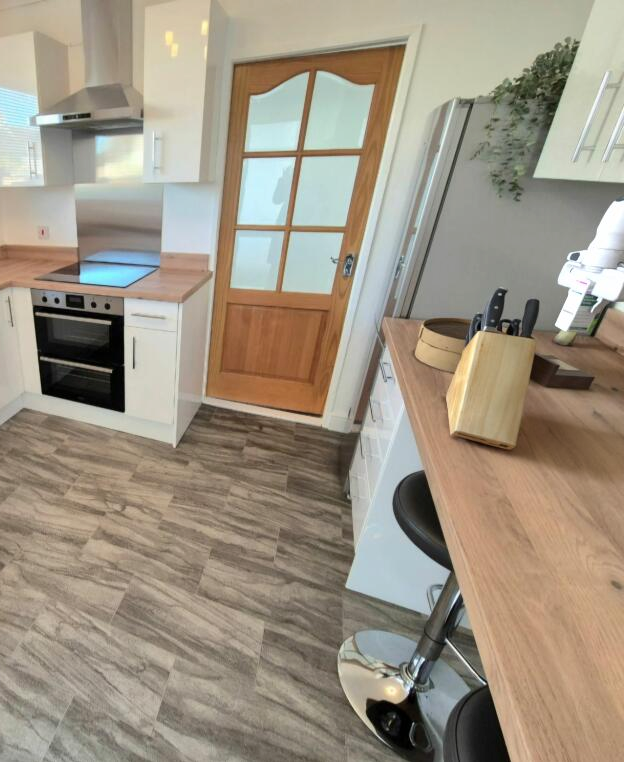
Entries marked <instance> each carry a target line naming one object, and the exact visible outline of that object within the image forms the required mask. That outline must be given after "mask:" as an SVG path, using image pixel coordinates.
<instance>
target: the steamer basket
mask: <svg viewBox="0 0 624 762" xmlns="http://www.w3.org/2000/svg"><path fill="white" fill-rule="evenodd" d="M472 320H473V319H470V318H461V317H433V318H429V319H426V320H423V321H422V322H421V325H420V328H419V332H418V335H417V337H418V342H417V344H416V348H415V350H414V356H415V357H416V359H417V360H418V361H420V362H422V363H423V364H425V365H427V366H430V367H432V368H435V369H438V370H441V371H445V372H448V373H452V374H455V371H456V369H457V366H458V364H459V362H460V360H461V357H462V353H463V350H464V346H465V342H466V337H467V334H468V333H470V326H471V322H472ZM507 328H508V327H504V326H502V333H505V334H506V331H507ZM496 330H497V327H496ZM519 336H520V335H519ZM519 336H518V337H519Z"/></svg>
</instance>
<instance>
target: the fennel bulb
mask: <svg viewBox="0 0 624 762" xmlns="http://www.w3.org/2000/svg"><path fill="white" fill-rule="evenodd" d="M578 333H579V332H566V331H564V330H562V329H560V330H559V332H558V334H557V335H556V336H555V337H554V342H555V343H557V344H558V345H562V346H571V345H572V344H573V343H574V341H575V340H576V339H577V336H578Z"/></svg>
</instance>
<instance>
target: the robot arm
mask: <svg viewBox="0 0 624 762" xmlns="http://www.w3.org/2000/svg"><path fill="white" fill-rule="evenodd" d="M566 259H567V261H566V262H565V263H564V265H563V266H562V269H561V270H560V272H559V275H558V278H557V284H558V286H562V287H565V288H568V289H569V290H568V292H567V293H568V295H569V293H570V291H571V289H572V287H573V284H574V282H575V280H576V278H586V279H590V280H593V281H595V282H596V284H595V286H594V288H593V290H592V292H591V295H594V296H597V297H598V299H597V301H598V302H597V303H596V304H595V305H594V306H590V308H589V310H588V312H590V313H593V314H598V313H600V311H601V309H602V308H603V309H604V308H605V306H607V305H608V304H610V303H611V302H614V303H615V302H616V303H624V195H623V196H620V197H619V198H616V199H615V200H613V202H612V203H611V204H610V205H609V207H608V208H607V210H606V211H605V213H604V215H603V216H602V218H601V220H600V222H599V224H598V226H597V228H596V235H595V237H594V239H593V240H592V241H591V243H590V244H589V245H588V247H587V249H583V250H577V251H572V252H569V253H568V255H567V258H566ZM603 309H602V310H603ZM601 312H602V311H601ZM600 314H601V313H600Z"/></svg>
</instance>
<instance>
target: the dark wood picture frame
mask: <svg viewBox="0 0 624 762" xmlns="http://www.w3.org/2000/svg"><path fill="white" fill-rule="evenodd" d="M529 379H532V380H533V381H535V382H537V383H538V384H540V385H541V386H543V387H545V388H555V389H556V388H558V389H573V390H575V389H576V390H590V387H591V386H592V384H593V382H594V380H595V379H596V377H595V376H594V375H593V374H590V373H588V372H586V371H585V370H582V369H580V368H578V367H576V366H574V365H572V364H570V363H569V362H566V361H565V360H563V359H560V358H558V357H556V356H555V355H552V354H549V355H548V354H539V353H537V352H536V351H535V354H534V359H533V364H532V369H531V374H530V378H529Z"/></svg>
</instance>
